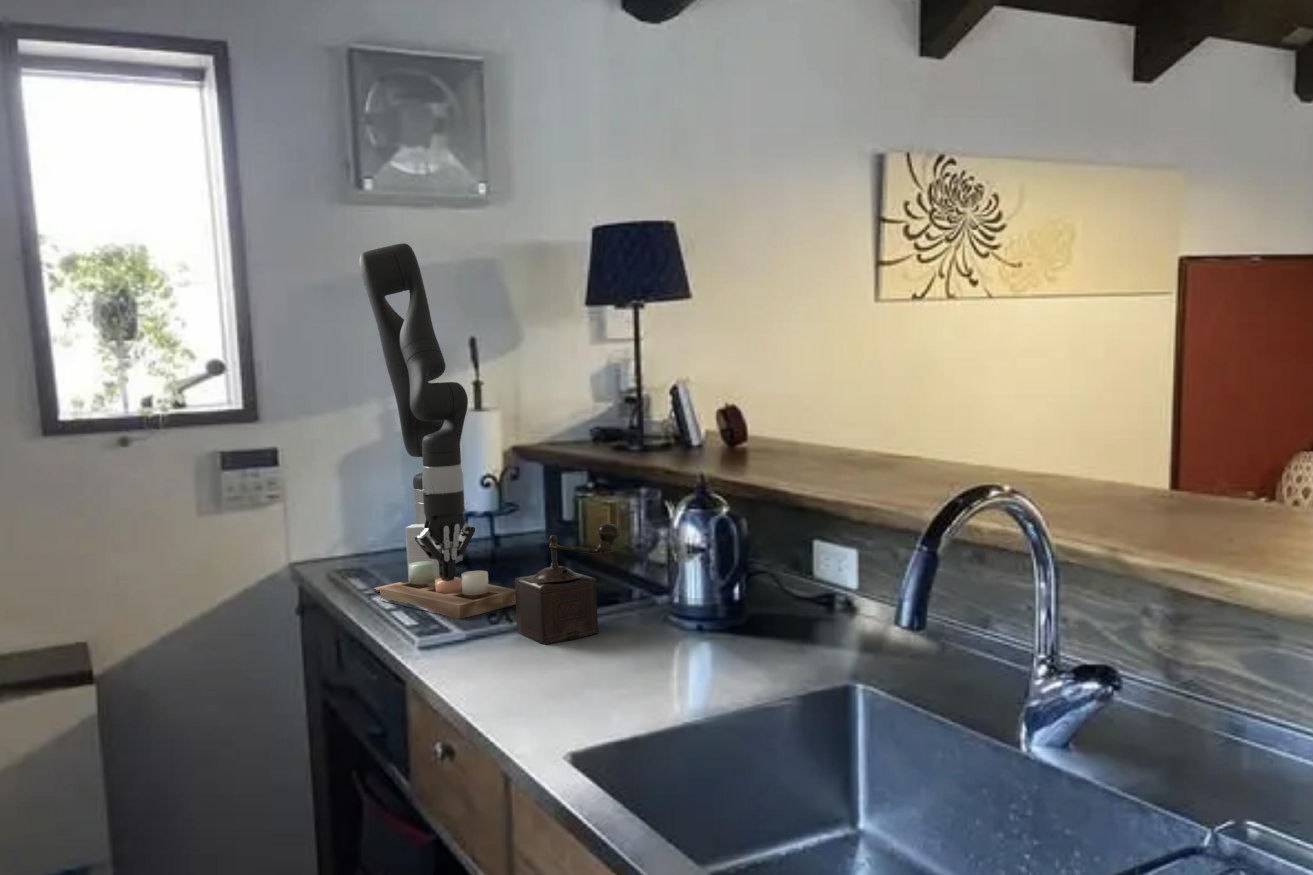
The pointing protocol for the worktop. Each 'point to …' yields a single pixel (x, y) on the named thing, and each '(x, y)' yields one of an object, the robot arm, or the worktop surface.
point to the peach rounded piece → (448, 585)
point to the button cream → (475, 582)
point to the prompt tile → (387, 585)
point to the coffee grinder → (560, 596)
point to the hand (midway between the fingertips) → (447, 579)
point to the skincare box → (417, 547)
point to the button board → (450, 599)
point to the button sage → (422, 572)
